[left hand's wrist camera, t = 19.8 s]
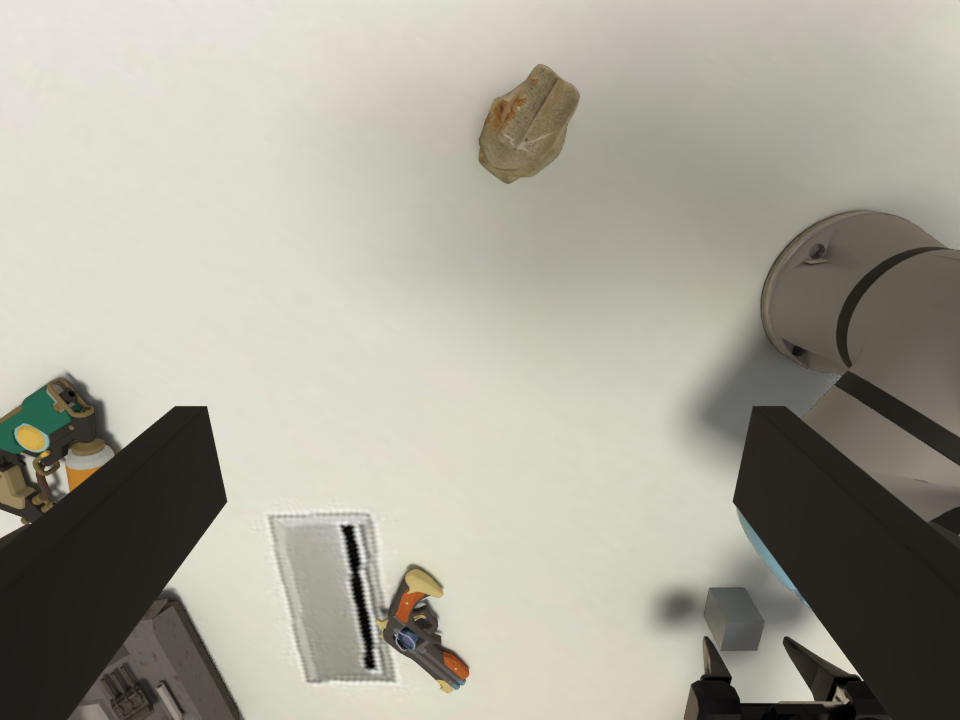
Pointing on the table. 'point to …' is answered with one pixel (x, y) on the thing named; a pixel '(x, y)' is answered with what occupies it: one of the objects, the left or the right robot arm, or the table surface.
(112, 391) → the table surface
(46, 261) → the table surface
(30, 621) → the left robot arm
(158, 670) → the toy
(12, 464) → the spray gun
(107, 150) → the table surface
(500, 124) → the sculpture
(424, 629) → the toy gun
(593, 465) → the table surface
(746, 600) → the brick
